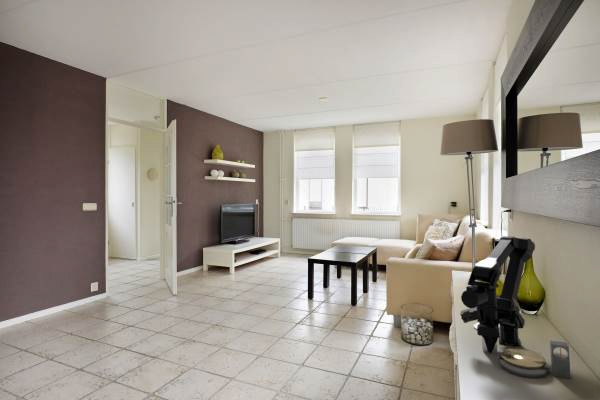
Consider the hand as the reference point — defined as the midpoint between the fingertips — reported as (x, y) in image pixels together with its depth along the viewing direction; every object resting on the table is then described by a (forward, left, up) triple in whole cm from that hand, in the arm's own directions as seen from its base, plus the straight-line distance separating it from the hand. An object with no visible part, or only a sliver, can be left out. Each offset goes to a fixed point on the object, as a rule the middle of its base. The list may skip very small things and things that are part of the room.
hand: (489, 348), depth 117 cm
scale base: (+9, +11, -1) cm, 15 cm away
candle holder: (-23, 0, -2) cm, 23 cm away
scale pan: (+9, +9, +1) cm, 13 cm away
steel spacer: (0, 0, -1) cm, 1 cm away
